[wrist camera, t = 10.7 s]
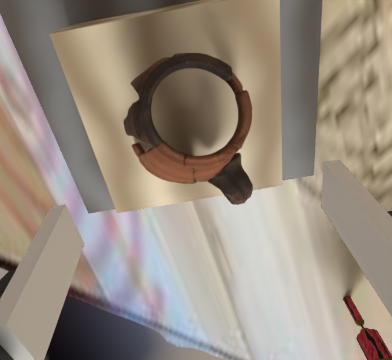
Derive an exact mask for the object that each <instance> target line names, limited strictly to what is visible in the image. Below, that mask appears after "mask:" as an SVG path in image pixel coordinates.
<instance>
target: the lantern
mask: <svg viewBox="0 0 392 360" xmlns="http://www.w3.org/2000/svg"><path fill="white" fill-rule="evenodd" d="M343 300H344V302H345V304H346V306H347V308H348V310H349V311H350V313H351V315H352V317H353V319H354V321H355V323H356V324H357V325H358V326H361V327H362V329H361V331H360V333H359V334H358V335H357V338H356V339H357V341H358V343H359V345H360V347H361V349H362V350H363V352H364V354H365V356H366V358H367V360H392V355H391V353H390V352H389V350H388V348H387V347H386V345H385V343H384V341H383V340H382V338H381V336H380V335H379V333H378V331H377V330H374V329H368V328H364V327H363V325H364V320H363V319H362V317H361V315H360V313H359V312H358V310H357V308H356V306H355V304H354V303H353V301H352V299H351V297H349V296H347V297H345V298H344V299H343Z"/></svg>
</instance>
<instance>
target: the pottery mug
mask: <svg viewBox="0 0 392 360" xmlns="http://www.w3.org/2000/svg"><path fill="white" fill-rule="evenodd" d="M189 68H190V69H191V68H196V69H202V70H206V71H209V72H211V73H213V74H215V75H216V76H218V77H220V78H221V79H222V80H224V81H225V82H226V83H227V84H228V85H229V86H230V87H231V89H232V90H233V92H234V94H235V100H236V103H237V107H238V123H237V127H236V130H235V132H234V135H233V136H232V138H231V139H230V140H229V142H228V143H227V144H226V145H225V146H224V147H223V148H221V149H220V150H218V151H216V152H214V153H212V154H208V155H203V156H193V155H187V154H184V153H182V152H179V151H177V150H175V149H173V148H172V147H171V146H169V145H168V144H167V143H166V142H165V141H164V140H162V138H161V137H160V136H159V134H158V132H157V131H156V129H155V126H154V124H153V120H152V114H151V104H152V98H153V94H154V92H155V90H156V88H157V86H158V85H159V84H160V82H161V81H162V80H163V79H164V78H166V77H167V76H168V75H170V74H171V73H173V72H175V71H178V70H181V69H189ZM131 85H132V86H133V87H134V89H135V91H136V92H137V94H138V96H139V99H138V101H136V102H134V103H133V104H132V105H131V106H130V108H129V109H128V114H127V117H126V118H125V119H124V128H125V132H126V134H127V135H128V136H133V137H135V138H136V139H138V140H141V141H143V142H145V143H147V144H149V145H150V146H152V148H151V149H149V150H148V151H145V150H144V149H143V147H142V146H141V144H140V143H134V144H133V145H132V148H133V150H134V152H135V154H136V156H137V157H138V158H139V161H140V163H141V164H142V165H143V166H144V167H145V169H146V170H147V171H148V172H150V173H151V174H153V175H154V176H156V177H158V178H160V179H162V180H165V181H169V182H176V183H181V184H194V183H196V182H197V181H198V182H206V181H207V182H208V183H210V184H212V185H214V186H215V187H217V188H218V189H220V190H221V192H222V193H223V194H224V195H225V196H226V198H227V199H228V200H229V201H230V203H232V204H236V205H238V204H242V203H245V202H246V200H247V199H248V198H249V197H250V196H251V194H252V191H253V185H252V182H251V181H250V179H249V177H248V175H247V173H246V172H245V171H244V169H243V167H242V164H241V154H240V153H236V152H238V150H239V149H241V148H242V146H243V143H244V142H245V139H246V137H247V135H248V133H249V130H250V127H251V123H252V104H251V100H250V96H249V93H248V91H247V90H244V91H243V86H242V84H241V82H240V81H239V79H238V78H237V77H236V75H235V74H234V73H233V72H232V68H231V66H230V65H228V64H227V63H225V62H223V61H222V60H220V59H218V58H214V57H212V56H210V55H207V54H201V53H178V54H174V55H173V57H165V58H162V59H160V60H158V61H157V62H155V63H154V64H153V65H151V66H150V67H149V68H148V69H147V70H145V71H144V72H143V73H141V74H140V75H139V76H137V77H136V78H135V79H134V80H133V81H132V82H131Z"/></svg>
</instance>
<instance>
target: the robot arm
mask: <svg viewBox="0 0 392 360" xmlns="http://www.w3.org/2000/svg"><path fill="white" fill-rule="evenodd" d="M321 207H322V209H323V210H324V212H325V213H326V215H327V216H328V218H329V220H330V221H331V223H332V224H333V226H334V227H335V229H336V231H337V232H338V234H339V235H340V237H341V238H342V240H343V241H344V243H345V245H346V246H347V248H348V249H349V251H350V252H351V254H352V255H353V257H354V259H355V260H356V262H357V263H358V265H359V266H360V268H361V270H362V271H363V273H364V274H365V276H366V277H367V279H368V280H369V282H370V284H371V285H372V287H373V288H374V290H375V291H376V293H377V294H378V296H379V298H380V299H381V301H382V302H383V304H384V305H385V307H386V309H387V310H388V312H389V313H390V315H391V316H392V211H389V212H387V211H386V210H385V209H384V208H383V207H382V206H381V205H380V204H379V202H378V201H377V200H376V199H375V198H374V197H373V196H372V195H371V194H370V193H369V191H368V190H367V189H366V188H365V187H364V186H363V185H362V184H361V183H360V182H359V181H358V179H357V178H356V177H355V176H354V175H353V174H352V173H351V172H350V171H349V170H348V168H347V167H346V166H345V165H344V164H343V163H342V162H341V161H340V160H335V161H329V162H324V170H323V185H322V200H321ZM83 247H84V242H83V240H82V238H81V236H80V233H79V231H78V229H77V227H76V225H75V223H74V221H73V219H72V217H71V215H70V213H69V211H68V209H67V206H66V205H61V206H55V207H51V208H50V210H49V212H48V214H47V215H46V217H45V219H44V221H43V223H42V224H41V226H40V228H39V230H38V232H37V233H36V235H35V237H34V239H33V241H32V242H31V244H30V246H29V248H28V250H27V251H26V253H25V255H24V257H23V259H22V260H21V262H20V264H19V266H18V268H17V270H15V271H9V272H8V273H7V274H6V275H5V276H4V277H3V278H2V279H1V280H0V360H44V358H45V355H46V352H47V349H48V346H49V343H50V341H51V338H52V335H53V332H54V329H55V326H56V323H57V321H58V318H59V315H60V312H61V309H62V307H63V304H64V301H65V298H66V295H67V292H68V289H69V287H70V284H71V281H72V278H73V275H74V272H75V269H76V267H77V264H78V261H79V258H80V255H81V252H82V249H83Z"/></svg>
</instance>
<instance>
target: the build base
mask: <svg viewBox="0 0 392 360" xmlns="http://www.w3.org/2000/svg"><path fill="white" fill-rule="evenodd" d="M0 14H1V16H2V18H3V21H4V23H5V25H6V27H7V30H8V32H9V34H10V37H11V39H12V41H13V43H14V46H15V48H16V50H17V52H18V55H19V57H20V59H21V61H22V64H23V66H24V68H25V70H26V73H27V75H28V77H29V80H30V82H31V84H32V86H33V89H34V91H35V93H36V95H37V98H38V100H39V102H40V104H41V107H42V109H43V111H44V113H45V116H46V118H47V120H48V123H49V125H50V127H51V129H52V132H53V134H54V136H55V138H56V141H57V143H58V145H59V147H60V150H61V152H62V154H63V156H64V159H65V161H66V163H67V166H68V168H69V170H70V172H71V175H72V177H73V179H74V181H75V184H76V186H77V188H78V190H79V193H80V195H81V197H82V199H83V202H84V204H85V206H86V209H87V211H88V213H94V212H100V211H106V210H112V209H116V211H117V213H121V212H127V211H132V210H138V209H144V208H150V207H156V206H162V205H168V204H174V203H180V202H185V201H191V200H197V199H203V198H209V197H215V196H221V195H224V194H223V193H222V192H221V190H220V189H218V188H217V187H215V186H214V185H212V184H210V183H208V182H207V181H206V182H198V181H197V182H196V183H194V184H181V183H176V182H169V181H165V180H162V179H160V178H158V177H156V176H154V175H153V174H151V173H150V172H148V171H147V170H146V169H145V167H144V166H143V165H142V164H141V163H140V161H139V158H138V157H137V156H136V154H135V152H134V150H133V148H132V145H133V144H134V143H140V144H141V146H142V147H143V149H144V150H145V151H148V150H149V149H151V148H152V146H150V145H149V144H147V143H145V142H143V141H141V140H138V139H136V138H135V137H133V136H128V135H127V134H126V132H125V128H124V119H125V118H126V117H127V114H128V109H129V108H130V106H131V105H132V104H133V103H134V102H136V101H138V99H139V96H138V94H137V92H136V91H135V89H134V87H133V86H132V85H131V82H132V81H133V80H134V79H135V78H136V77H137V76H139V75H140V74H141V73H143V72H144V71H145V70H147V69H148V68H149V67H150V66H151V65H153V64H154V63H155V62H157V61H158V60H160V59H162V58H165V57H173V55H174V54H178V53H201V54H207V55H210V56H212V57H214V58H218V59H220V60H222V61H223V62H225V63H227V64H228V65H230V66H231V68H232V72H233V73H234V74H235V75H236V77H237V78H238V79H239V81H240V82H241V84H242V86H243V91H244V90H247V91H248V93H249V96H250V100H251V104H252V123H251V127H250V130H249V133H248V135H247V137H246V139H245V142H244V143H243V146H242V148H241V149H239V150H238V152H236V153H240V154H241V164H242V167H243V169H244V171H245V172H246V173H247V175H248V177H249V179H250V181H251V182H252V185H253V190H256V189H262V188H268V187H274V186H280V185H282V180H288V179H294V178H300V177H306V176H312V175H314V158H315V138H316V117H317V97H318V77H319V56H320V36H321V15H322V0H0ZM151 114H152V120H153V124H154V126H155V129H156V131H157V132H158V134H159V136H160V137H161V138H162V140H164V141H165V142H166V143H167V144H168V145H169V146H171V147H172V148H173V149H175V150H177V151H179V152H182V153H184V154H187V155H193V156H203V155H208V154H212V153H214V152H216V151H218V150H220V149H221V148H223V147H224V146H225V145H226V144H227V143H228V142H229V140H230V139H231V138H232V136H233V135H234V132H235V130H236V127H237V123H238V107H237V103H236V100H235V94H234V92H233V90H232V89H231V87H230V86H229V85H228V84H227V83H226V82H225V81H224V80H222V79H221V78H220V77H218V76H216V75H215V74H213V73H211V72H209V71H206V70H202V69H196V68H191V69H190V68H189V69H181V70H178V71H175V72H173V73H171V74H170V75H168V76H167V77H166V78H164V79H163V80H162V81H161V82H160V84H159V85H158V86H157V88H156V90H155V92H154V94H153V98H152V104H151Z"/></svg>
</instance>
